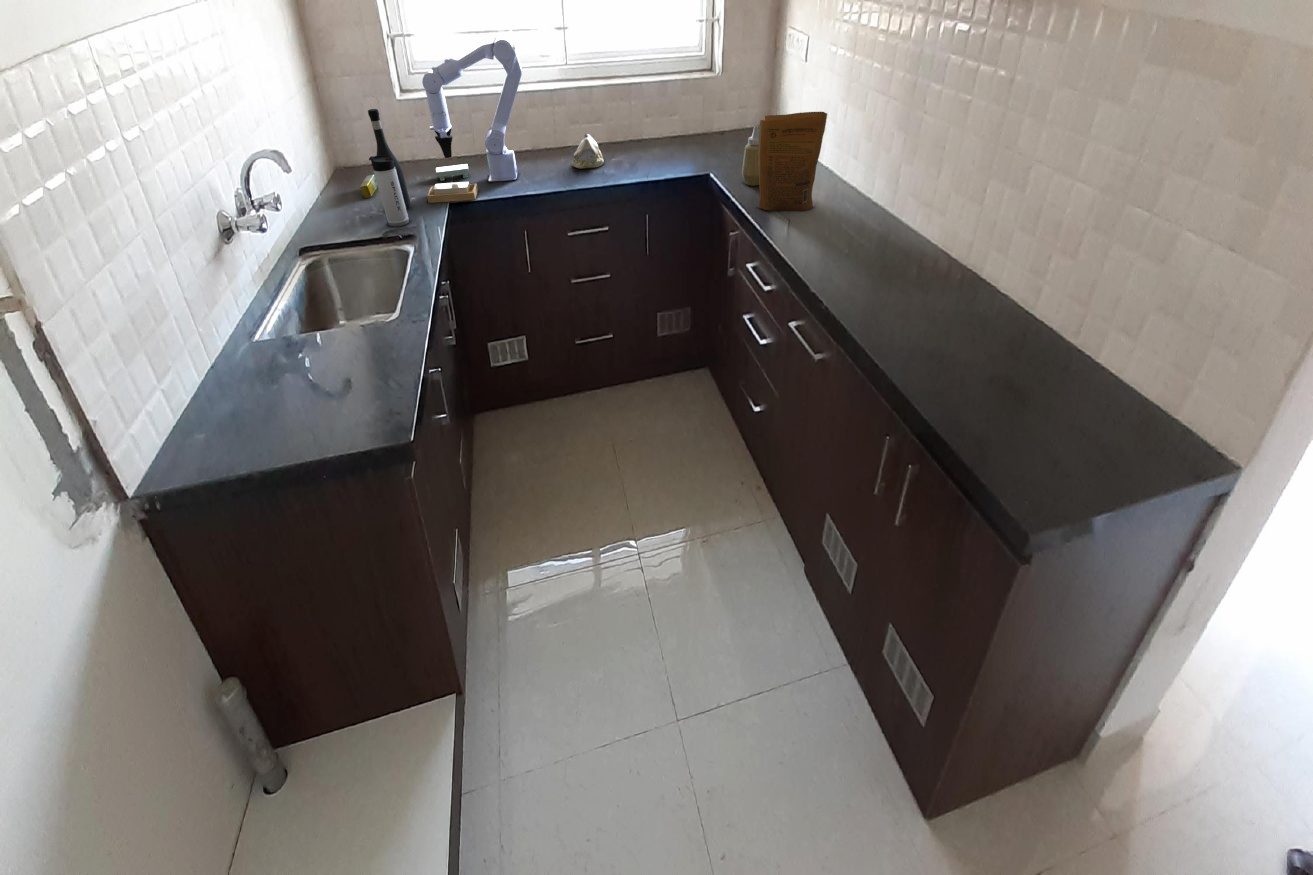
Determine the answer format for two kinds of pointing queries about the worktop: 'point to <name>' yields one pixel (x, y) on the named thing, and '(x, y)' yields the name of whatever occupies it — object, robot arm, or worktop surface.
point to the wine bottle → (388, 153)
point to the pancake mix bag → (789, 159)
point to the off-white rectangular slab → (451, 188)
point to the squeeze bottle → (751, 159)
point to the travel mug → (390, 190)
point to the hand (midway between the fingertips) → (447, 154)
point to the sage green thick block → (452, 171)
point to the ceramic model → (588, 154)
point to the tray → (453, 195)
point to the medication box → (369, 186)
